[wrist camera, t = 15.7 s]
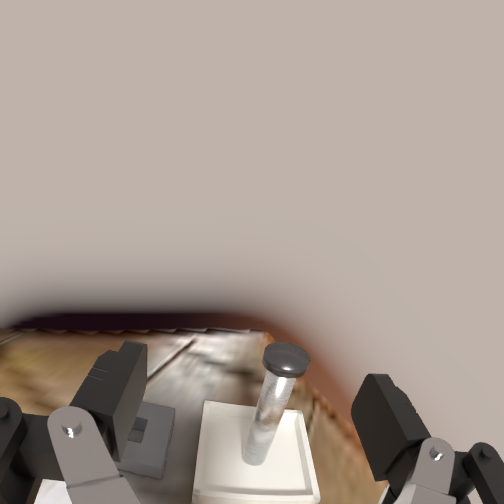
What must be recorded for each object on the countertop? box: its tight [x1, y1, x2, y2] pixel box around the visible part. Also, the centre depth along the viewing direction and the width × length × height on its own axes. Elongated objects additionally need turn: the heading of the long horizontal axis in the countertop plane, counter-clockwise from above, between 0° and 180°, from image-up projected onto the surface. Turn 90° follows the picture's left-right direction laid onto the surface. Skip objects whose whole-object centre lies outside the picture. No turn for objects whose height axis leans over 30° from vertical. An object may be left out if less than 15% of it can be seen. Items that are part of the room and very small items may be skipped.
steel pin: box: [242, 342, 310, 466], centre depth 33 cm, size 5×5×18 cm
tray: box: [192, 400, 321, 504], centre depth 36 cm, size 15×17×3 cm
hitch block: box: [113, 402, 175, 479], centre depth 34 cm, size 11×11×3 cm
